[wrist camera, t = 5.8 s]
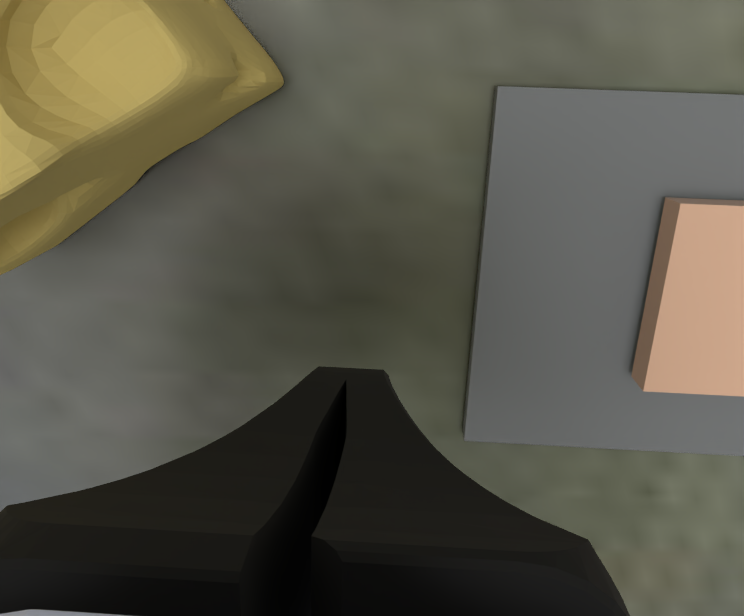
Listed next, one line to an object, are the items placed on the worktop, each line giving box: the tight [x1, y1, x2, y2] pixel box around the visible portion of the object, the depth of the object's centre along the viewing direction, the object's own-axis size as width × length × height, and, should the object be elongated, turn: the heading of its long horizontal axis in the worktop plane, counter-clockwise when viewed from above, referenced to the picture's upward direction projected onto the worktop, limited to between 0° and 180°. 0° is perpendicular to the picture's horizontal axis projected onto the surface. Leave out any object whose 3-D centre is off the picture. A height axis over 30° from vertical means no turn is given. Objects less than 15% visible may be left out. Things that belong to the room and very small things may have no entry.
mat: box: [463, 86, 744, 456], centre depth 20 cm, size 12×13×1 cm
